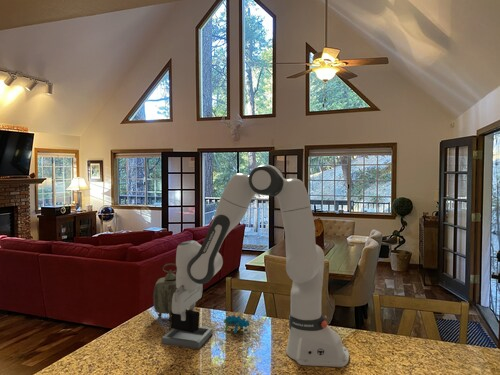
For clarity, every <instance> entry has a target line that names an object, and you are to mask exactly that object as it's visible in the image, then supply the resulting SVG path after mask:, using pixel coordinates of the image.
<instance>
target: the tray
mask: <svg viewBox="0 0 500 375" xmlns="http://www.w3.org/2000/svg"><path fill="white" fill-rule="evenodd" d="M213 332H214V331H213V328H212V327H207V326H199V330H197V331H195V332H193V333H191V332H187V331H182V330H177V329H172V328H170V330H169V331H168V332H166V334H164V335H163V336H162V337H161V344H162V345H166V346H173V347H180V348H187V349H192V350H193V349H194V350H200V349H201V348H202V347H203V346H204V345H205V343H206V342H208V340H209V339H210V338H211V336H213Z"/></svg>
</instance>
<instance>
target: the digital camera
mask: <svg viewBox="0 0 500 375" xmlns="http://www.w3.org/2000/svg"><path fill="white" fill-rule="evenodd" d="M185 314H186V320H185V321H182V320H181V315H180V314H174V313H172V312H171V321H170V329H177V330H182V331H187V332H191V333H193V332H195V331H197V330H199V327H200V326H199V325H200V311H196V310H194V311H191V310H189V309H186V312H185Z"/></svg>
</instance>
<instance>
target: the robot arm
mask: <svg viewBox="0 0 500 375" xmlns="http://www.w3.org/2000/svg"><path fill="white" fill-rule="evenodd" d="M256 195H260V196H268V197H275V198H276V199H277V200H278V204H279V209H280V213H281V214H280V215H281V218H282V219H281V220H282V225H283V229H284V239H285V244H284V245H285V258H286V261H285V272H286V275H287V276H288V277H289V279H290V280H292V284H291V289H290V312H289V317H288V326H289V328H288V329H289V335H288V341H287V345H286V349H285V353H286V355H287V356H288V357H289V358H291V359H293V360H295V361H296V363H297V364H298V365H301V366H313V367H316V366H317V367H333V368H334V367H335V368H337V367H338V368H343V367H345V366H346V365H347V364H348V363H349V359H350V353H349V350H348V348H347V347H345V346H343V341H342V338H341V336H340V335H339V333H337V332H336V331H334V330H333V329H332V328H331V327H329V326H328V318H327V315H323V314H322V291H323V282H324V272H325V271H324V270H325V253H324V250H323V249H322V247H321V246H319V245H318V244H316V242H317V241H316V225H315V221H314V215H313V210H312V206H311V200H310V197H309V194H308V190H307V188H306V186H305V183H304V182H303V181H302V180H301V179H298V178H285V176H284V173H283V171H282V170H281V169H280V168H278V167H276V166H273V165H271V164H260V165H257V166H255V167H254V168H253V169H252V170H251V171H250V172H249V174H245V173H243V172H242V173H241V172H237V173H235V174H233V175H232V176H231V178H230V180H228V183H227V184H226V186H225V188H224V189H223V192H222V193H221V196H220V198H219V201H218V204H217V207H216V210H215V213H214V216H213V219H212V221H211V225H210V227H209V228H208V232H207V234H206V235H205V237H204V240H203V242H202V244H200V243H199V242H198V241H196V240H187V241H182V242H181V243H180V244H178V245H177V247H176V254H175V264H176V266H177V267H176V266H175V267H176V270H177V271H176V272H175V275H176V288H177V289H176V292H175V293H174V294H173V298H172V313H174V314H180V315H181V320H182V321H185V320H186V314H185V312H186V309H187V310H191V311H195V307H196V303H197V302H198V300H200V299H201V298H202V295H203V285H205V284H208V283H209V282H210V281H211V280H212V279H213V277H214V276H215V275H216V274H217V273H218V272H219V271H220V270H221V269H222V267H223V264H224V259H223V256H222V254H221V253H220V252H219V251H220V250H221V249H220V248H221V247H222V244H223V242H224V240H225V239H226V237H227V236H228V235H229V233H231V231H232V230H233V229H235V228H236V227H237V226H238V225H239V224H240V223H241V222H242V220H243V219H244V217H245V214H246V213H247V211H248V209H249V206H250V204H251V202H252V200H253V198H254V197H255V196H256ZM188 308H189V309H188Z"/></svg>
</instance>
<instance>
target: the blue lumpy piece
mask: <svg viewBox="0 0 500 375" xmlns="http://www.w3.org/2000/svg"><path fill="white" fill-rule="evenodd" d="M223 323H224V324H225V325H224V326H225V329H224V332H227V331H228V327H234V330H233V334H234V335H236V334H237V331H238V327H239V328H248V327H249V326H250V321H249V320H246V317H245V318H244V317H242V318H241V316H239V315H237V316H235V315H228V316H227V317H225V319H224V320H223Z"/></svg>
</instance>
